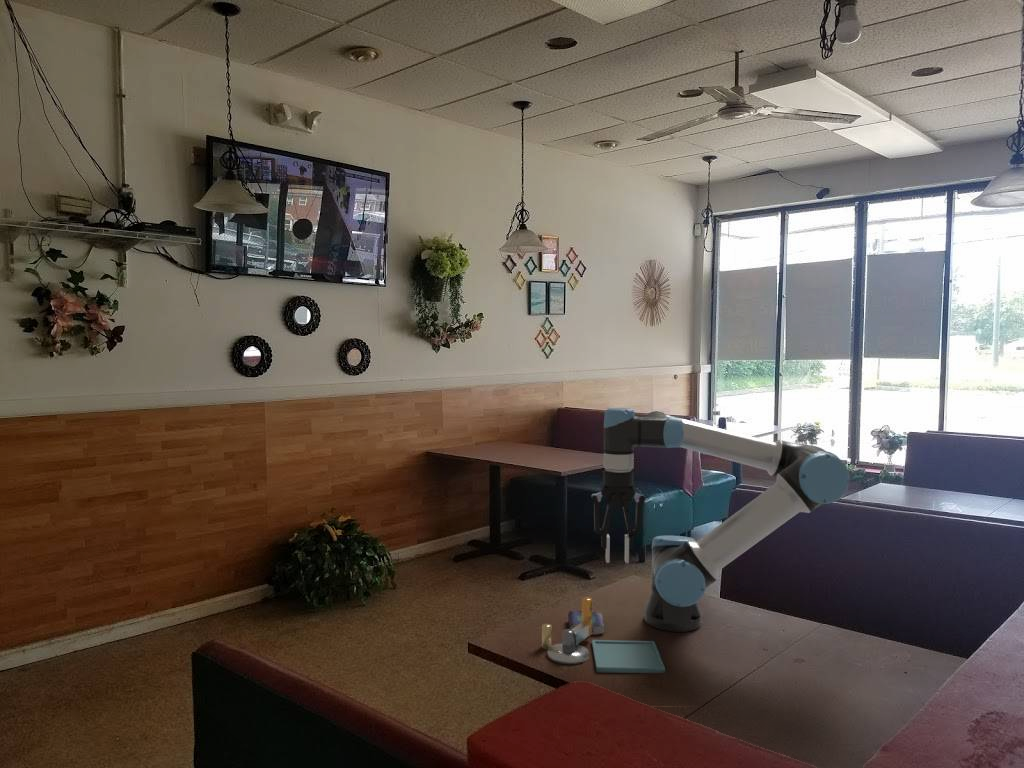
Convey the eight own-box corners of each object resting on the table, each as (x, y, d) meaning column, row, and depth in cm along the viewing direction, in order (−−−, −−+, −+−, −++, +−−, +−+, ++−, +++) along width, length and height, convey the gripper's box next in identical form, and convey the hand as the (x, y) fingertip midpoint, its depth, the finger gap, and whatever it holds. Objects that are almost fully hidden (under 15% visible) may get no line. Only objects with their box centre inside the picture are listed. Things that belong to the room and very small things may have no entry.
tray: (654, 645, 185) (654, 641, 185) (665, 673, 170) (665, 668, 170) (591, 644, 186) (591, 639, 186) (596, 672, 170) (596, 667, 170)
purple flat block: (602, 611, 200) (605, 629, 189) (601, 622, 200) (604, 640, 189) (568, 609, 200) (569, 626, 189) (567, 619, 200) (568, 637, 190)
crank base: (587, 646, 185) (587, 622, 184) (590, 664, 174) (590, 639, 174) (541, 645, 185) (541, 621, 185) (542, 663, 174) (542, 639, 174)
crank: (577, 645, 180) (577, 609, 180) (567, 643, 182) (568, 607, 181) (593, 633, 188) (593, 598, 187) (584, 631, 189) (584, 596, 189)
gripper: (650, 467, 189) (649, 557, 190) (583, 466, 190) (582, 556, 191) (655, 472, 182) (653, 566, 183) (585, 471, 182) (583, 565, 183)
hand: (617, 561), depth 187 cm, fingers open, 4 cm apart
